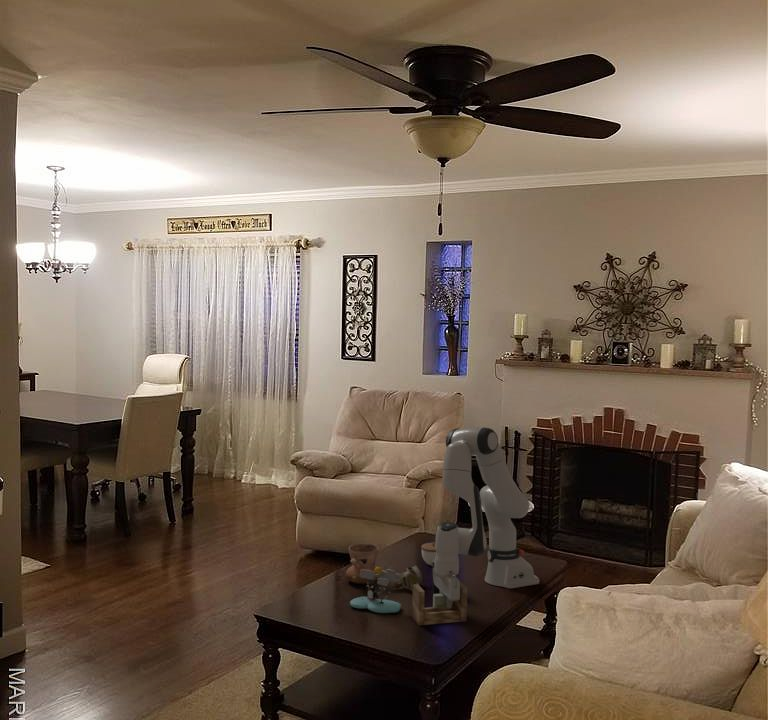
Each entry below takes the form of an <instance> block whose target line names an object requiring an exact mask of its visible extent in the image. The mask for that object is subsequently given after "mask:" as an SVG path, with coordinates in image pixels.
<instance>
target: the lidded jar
mask: <svg viewBox="0 0 768 720" xmlns="http://www.w3.org/2000/svg"><path fill="white" fill-rule="evenodd" d="M420 547H421V557H422V559H423V561H424V562H425V563H426V564H427V565H429V566H432V561H435V557H436V549H435V541H433V542H426V543H423V544H422V545H421V546H420Z"/></svg>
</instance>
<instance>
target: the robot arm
mask: <svg viewBox="0 0 768 720" xmlns="http://www.w3.org/2000/svg"><path fill="white" fill-rule="evenodd" d="M445 446H446V447H445V448H446V449H445V453H444V458H443V463H442V474H441V475H442V484H443V486H444V487H445V489H446V490H447V491H448V492H449V493H451V494H452V495H454V496H457V497H458V498H461V499H463V500H465V501H466V503H468V505H469V507H470V516H471V524H472V527H471V528H466V527H459V526H458V524H457V523H455V522H453V521H451V522H450V521H445V522H444V521H442V522H440V523H439V524H438V525H437V529H436V533H435V537H434V540H435V541H434V542H435V549H436V557H435V561H432V565H431V568H432V567H433V579H432V582H433V581H434V585H435V586H436V587H437V588H438V589H439V590H440V594H441V593H443V594H444V595H445V596H446V597H447V602H446V607H447V608H448V609H449V608H452V602H453V601H459V599H460V583H459V581H460V580H459V578H458V577H457V575H458V574H459V572H460V557H459V555H468V556H469V557H476V558H478V557H480V556H482V555H483V554H484V553H485V552H486V549H487V561H488V562H487V568H486V571H485V576H484V581H485V582H486V583H487V584H489V585H493V586H497V587H503V588H506V589H515V588H520V587H521V588H523V587H528V586H534V585H538V584H539V585H540V579H539V577H538V576H537V575H535V574H534V573H535V571H534V567H533V566H532V565H531V564H530V563H529V562H528V561H527V560H525V559H524V558H523V557H522V556H524V555H525V553H526V552H525V551H524V550H523V549H521V548H519V547H517V529H516V527H515V525H514V523H513V522H512V519H522V518H524V517H526V515H527V514H528V513H529V509H530V501H529V499H528V497H526V496H525V495H524V494H523V492H522V491H521V490H520V489H519V487H518V485H517V484H516V482H515V480H514V479H513V476H512V474H511V473H510V470H509V468H508V465H507V462H506V459H505V455H504V453H503V450H502V447H501V445H500V443H499V437H498V435H497V433H496V432H495V430H494V429H493V428H490V427H478V426H477V427H475V426H473V427H472V426H471V427H463V428H454V429H451V430H450V431H449V432H448V433H447V434H446V438H445ZM472 456H475V459H476V462H477V465H478V470H479V472H480V475H481V478H482V481H483V482H484V484H485V485H484V486H483V487H482V488H481V489H479V487H478V486H477V485H476V484H475V483H474V481H473V479H472ZM483 510H484V513H485V516H486V519H487V520H486V521H487V524H488V531H489V533H488V537H489V539H488V540H489V541H488V540H487V536H486V530H485V525H484V517H483V516H484V514H483ZM487 541H488V543H489V544H488V547H487Z"/></svg>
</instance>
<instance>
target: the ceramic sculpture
mask: <svg viewBox="0 0 768 720" xmlns="http://www.w3.org/2000/svg"><path fill="white" fill-rule="evenodd" d="M401 574H402V576H401V577H399V582H393V584H392V585H391V588H392V589H400V588H401V587H402V588H403V589H404V590H410V591H412V592H413V584H419V585H420V584H421V582H422V580H423V574H422V573H421V570H420V569H419V567H418V566H417V565H414V566H413V567H409V566H408V567H407V568H406V569H405V570H404V571H403V572H402V573H401Z"/></svg>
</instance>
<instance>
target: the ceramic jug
mask: <svg viewBox="0 0 768 720" xmlns="http://www.w3.org/2000/svg"><path fill="white" fill-rule="evenodd" d="M348 553H349V554H348V555H349V556H350V563H351V566H350V567H348V568H347V569H346V571H345V578H346V579H347V580H348V581H349V582H351V583H353V584H356V585H357V584H358V585H368V584H367V582H368V579H367V578H361V577H360V573H361V572H360V570H362V569H365V570H371V571H374V569H375V568H376V567H377V566H376V565H375V564H376V560H377V557H378V554H379V546H378V545H375V544H373V543H363V542H362V543H361V542H360V543H354V544H352V545H349V546H348ZM374 578H375V582H376V583H377V581H378V580H377V579H378V578H381V577H375V576H374Z"/></svg>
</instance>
